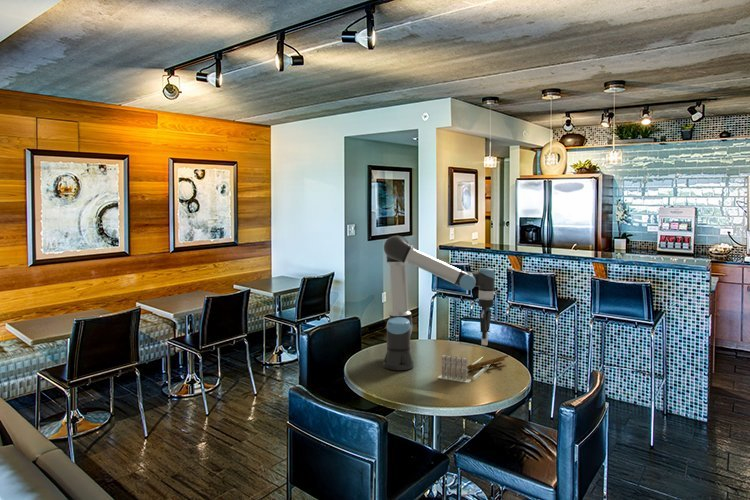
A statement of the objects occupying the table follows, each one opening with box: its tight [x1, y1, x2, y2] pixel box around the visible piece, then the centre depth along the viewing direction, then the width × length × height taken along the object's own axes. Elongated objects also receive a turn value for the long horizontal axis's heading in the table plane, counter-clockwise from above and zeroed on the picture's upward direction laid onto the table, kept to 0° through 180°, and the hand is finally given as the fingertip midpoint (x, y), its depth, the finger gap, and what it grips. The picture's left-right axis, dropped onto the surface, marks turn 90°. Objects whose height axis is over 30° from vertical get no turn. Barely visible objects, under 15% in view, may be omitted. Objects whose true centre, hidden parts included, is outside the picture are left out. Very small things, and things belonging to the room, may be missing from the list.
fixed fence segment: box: [441, 354, 468, 381], centre depth 228 cm, size 2×12×10 cm, turn 61°
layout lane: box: [467, 356, 492, 381], centre depth 243 cm, size 8×37×2 cm, turn 151°
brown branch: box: [467, 354, 509, 371], centre depth 245 cm, size 25×2×10 cm
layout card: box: [436, 374, 472, 384], centre depth 227 cm, size 15×4×1 cm, turn 61°
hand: (484, 344), depth 254 cm, fingers closed
